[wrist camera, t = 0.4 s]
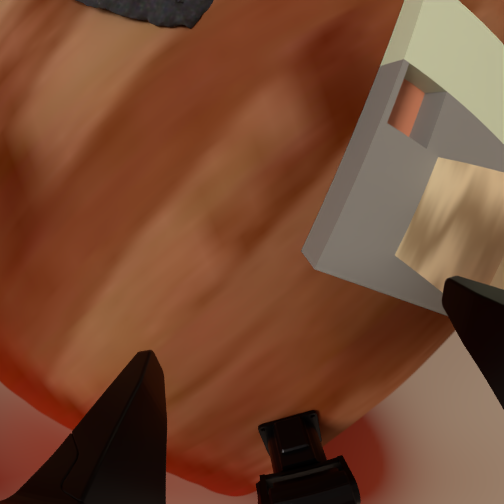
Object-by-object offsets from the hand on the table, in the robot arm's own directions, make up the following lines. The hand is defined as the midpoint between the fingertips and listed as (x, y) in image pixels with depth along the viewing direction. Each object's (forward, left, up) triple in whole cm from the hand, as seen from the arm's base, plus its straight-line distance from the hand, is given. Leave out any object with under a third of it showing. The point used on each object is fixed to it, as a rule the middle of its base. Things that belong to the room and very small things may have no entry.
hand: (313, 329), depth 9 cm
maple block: (-4, -14, -12) cm, 19 cm away
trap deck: (0, -18, -16) cm, 24 cm away
